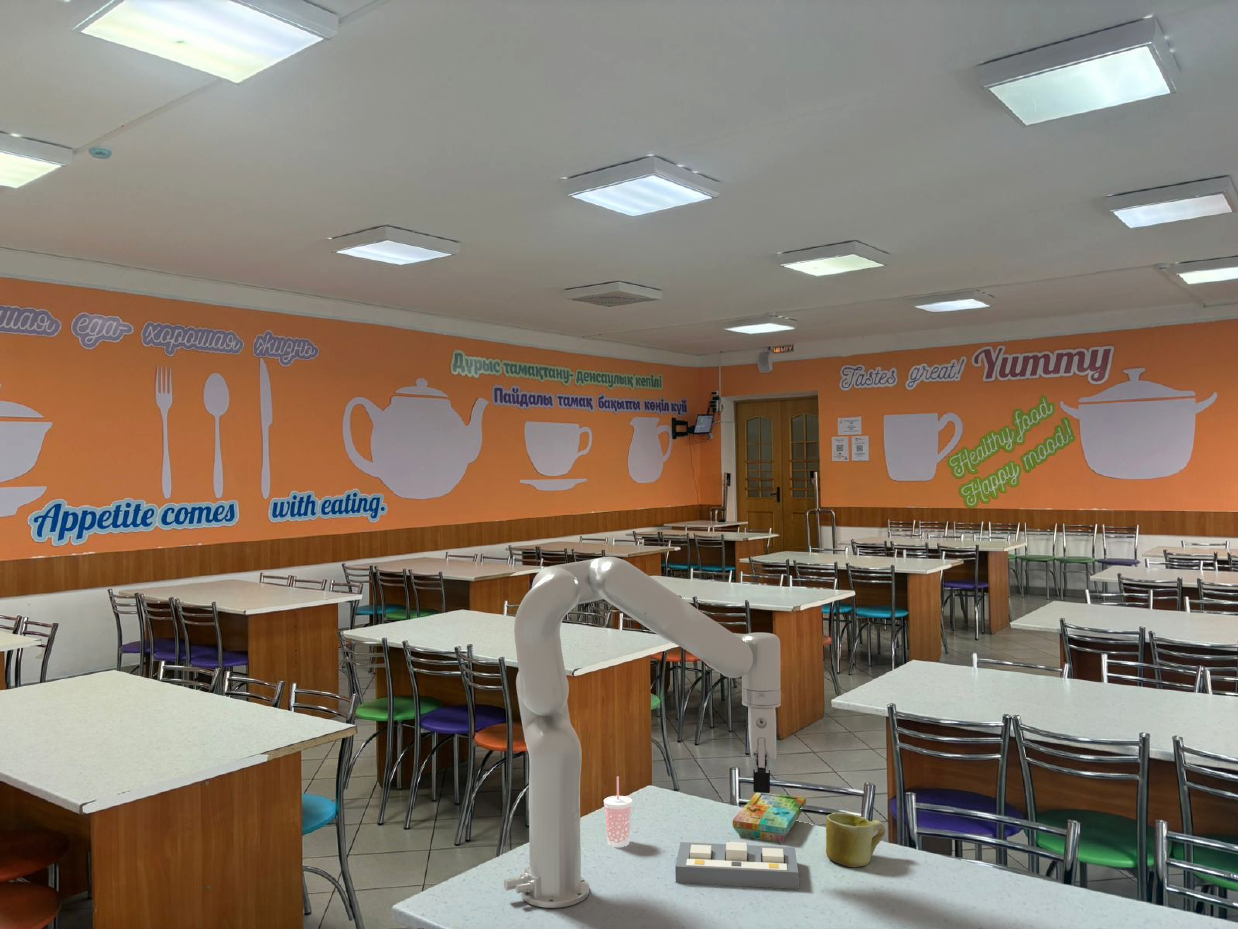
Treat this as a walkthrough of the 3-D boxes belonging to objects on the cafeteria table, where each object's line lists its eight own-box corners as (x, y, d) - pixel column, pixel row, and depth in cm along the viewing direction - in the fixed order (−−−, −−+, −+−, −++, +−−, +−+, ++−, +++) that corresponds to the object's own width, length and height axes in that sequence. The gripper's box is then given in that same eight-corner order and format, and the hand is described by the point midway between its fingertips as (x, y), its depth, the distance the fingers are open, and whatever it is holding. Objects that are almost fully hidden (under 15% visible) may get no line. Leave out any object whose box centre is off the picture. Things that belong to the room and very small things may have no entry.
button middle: (747, 866, 168) (746, 850, 168) (726, 865, 168) (725, 849, 168) (747, 858, 172) (746, 842, 172) (726, 857, 172) (726, 841, 172)
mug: (828, 863, 169) (833, 809, 172) (816, 859, 179) (821, 808, 182) (891, 876, 168) (895, 821, 172) (875, 871, 178) (879, 819, 182)
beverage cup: (611, 836, 189) (611, 770, 190) (637, 840, 187) (636, 774, 187) (599, 846, 184) (598, 778, 184) (625, 850, 181) (624, 782, 182)
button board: (798, 889, 162) (798, 871, 162) (675, 882, 166) (675, 864, 166) (795, 862, 174) (794, 846, 174) (680, 857, 177) (680, 840, 178)
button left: (710, 869, 169) (710, 853, 169) (690, 868, 169) (689, 852, 169) (711, 861, 173) (711, 845, 173) (691, 860, 173) (691, 844, 173)
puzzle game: (732, 816, 188) (756, 788, 206) (732, 838, 188) (756, 808, 206) (786, 823, 183) (805, 794, 202) (786, 846, 183) (806, 815, 201)
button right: (783, 873, 167) (783, 857, 167) (762, 871, 167) (762, 856, 167) (783, 864, 171) (782, 848, 171) (762, 863, 171) (762, 847, 171)
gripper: (781, 706, 163) (782, 805, 162) (779, 689, 178) (780, 780, 177) (741, 704, 164) (741, 803, 163) (742, 688, 179) (743, 778, 178)
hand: (761, 791), depth 170 cm, fingers closed
